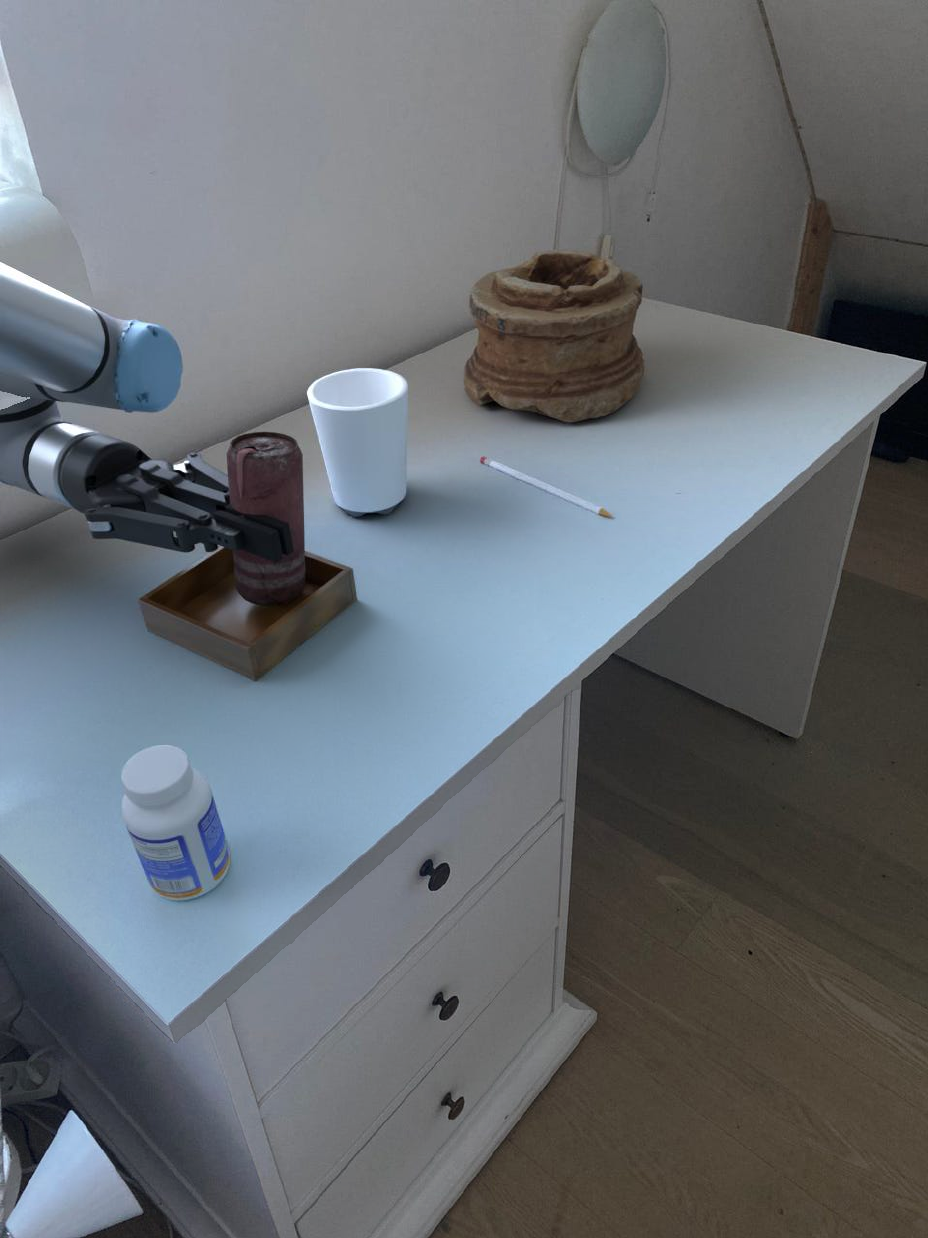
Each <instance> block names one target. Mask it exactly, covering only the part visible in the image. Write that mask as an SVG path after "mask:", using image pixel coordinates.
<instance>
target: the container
mask: <svg viewBox="0 0 928 1238" xmlns="http://www.w3.org/2000/svg"><path fill="white" fill-rule="evenodd" d="M643 287H644V284H643V281H642V280H641V278H638V277H637V275H636V274H635V273H632V272H631V271H629V270H626V269H622V268H621V267H620V265H619V264H618V263H617V262H615V260H613V259H611V258H609V257H607V258H604V259H602V258H601V257H600V256H599V255H598V254H596V253H593V252H589V251H584V250H578V249H549V250H542V251H537V252H535V253H534V254H533V256H532V257H531V259H530V260H527V261H526V260H525V261H524V262H522V263H520V264H518V265H517V266H514V267H508V268H503V269H499V270H496V271H494V270H493V271H491V272H489V273H487V274H485V275H482V276H481V277H480V278H479V279H477V281H476V282H475V283H474V285H472V287H471V290H470V293H469V301H468V306H469V313H470V315H471V317H472V319H474V321H475V325H476V328H477V331H478V335H477V342H476V343H477V344H476V346H474V347H475V348H474V350H473V351H472V354H471V355H470V357H469V358H468V359H467V360H466V361H465V365H464V369H463V370H464V371H463V386H464V387H463V388H464V391H465V393H466V394H467V396H468V397H469V398H470V399H471V400H472V401H473V402H474V403H475V404H477V405H479V406H482V405H486V404H487V403H491V402H496V403H497V404H499V405H500V406H501V407H503V408H505V409H508V410H511V411H512V410H513V411H526V412H527V411H528V412H532V413H537V414H540V415H541V416H546V417H549V418H551V419H552V418H553V419H556V420H559V421H562V422H565V423H576V422H580V421H585V420H589V419H597V418H599V417H605V416H607V415H609V414H612V413H615V412H616V411H617V410H618V409H621V407H622V406H623V405H625V404H626V403H628V401H630V399H632V398H633V397H634V396H635V394H636V392H637V391H638V389H639V387H640V385H641V381H642V379H643V377H644V374H645V369H646V367H645V360H644V358H643V351H642V348H640V347H639V344H638V341H637V338H636V337H635V335H634V334H633V332H634V325H635V322H636V318H637V312H638V310H639V309H640V305H641V304H642V303H643V302H642V301H643Z"/></svg>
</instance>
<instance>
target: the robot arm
mask: <svg viewBox="0 0 928 1238" xmlns="http://www.w3.org/2000/svg"><path fill="white" fill-rule="evenodd" d="M183 367H184V365H183V357H182V353H181V349H180V347H179V345H178V342H177V340H176V338H175V337H174V336H173V335H172V334H171V332H170V331H169V330H168V329H166V328H165V327H163V326H161V325H159V324H155V323H150V322H143V321H142V320H140V319H130V320H125V319H120V318H117V317H114V316H112V315H109V314H107V313H106V312H103V311H101V310H99V309H97V308H95V307H94V306H93V307H92V306H90V305H88V304H86V303H83V302H80V301H79V300H77V299H75V298H74V297H71V296H69V295H67V294H65V293H63V292H62V291H60V290H57V289H55V288H53V287H51V286H50V285H47V284H45V283H42V282H41V281H39V280H36V279H35V278H34V277H33V278H32V276H31V277H30V276H29V275H27V274H25V273H23V272H21V271H19V270H17V269H15V268H13V267H11V266H9V265H6V264H5V263H3V262H0V391H2V392H7V393H11V394H14V395H17V396H21V397H26V398H27V397H30V399H27V400H25V401H23V402H20V403H17V404H14V405H12V406H10V407H8V408H5V409H1V410H0V483H1V484H5V485H9V486H11V487H16V488H18V489H22V490H25V491H27V492H29V493H32V494H34V495H38V496H39V497H43V498H45V499H47V500H50V501H53V502H55V503H57V504H59V505H62V506H65V507H67V508H70V509H73V510H76V511H78V512H79V513H81V514H84V516H85V519H86V522H87V526H88V529H89V531H90V535H91V538H93V539H95V540H105V539H106V540H110V539H111V540H112V539H113V540H114V539H116V540H121V541H126V542H131V543H136V544H142V545H145V546H151V547H155V548H161V549H165V550H171V551H175V552H178V553H179V552H181V553H191V552H193V551H194V550H195V549H196V545H198V544H200V543H201V544H202V545H203V546H204V551H205V552H206V553H210V552H214V551H216V550H217V549H218V547H219V546H223V547H225V548H227V549H230V550H239V549H241V550H244V551H246V552H249V553H252V554H254V555H257V556H259V557H262V558H265V559H267V560H270V561H272V562H275V563H278V562H280V561H281V560H282V559H283V554H284V555H287V556H288V555H290V554H291V553H292V552H294V549H293V543H292V538H291V532H290V527H289V523H287V522H284V521H281V520H278V519H275V518H273V517H270V516H267V515H251V514H244V513H241V512H239V511H236V510H235V509H234V508H233V507H232V506H231V504H230V495H229V484H228V474H226V473H224V472H222V471H221V470H220V469H217V468H216V467H215V466H213V465H211V464H209V463H208V462H205V461H204V459H203V457H202V455H201V453H200V452H196V451H194V452H190V453H187V455H186V458H187V460H185V461H183V462H182V463H178V464H173V463H171V462H170V461H168V460H165V459H164V460H163V459H161V460H159V459H153V458H151V457H149V456H148V454H146V453H145V452H144V451H143V450H142V449H141V448H139V446H137V445H135V444H133V443H131V442H129V441H125V440H123V439H119V438H116V437H115V436H110V435H106V434H104V433H103V432H100V431H97V430H95V429H91V428H88V427H84V426H81V425H78V424H75V423H72V422H69V421H66V420H65V419H63V418H62V415H61V413H60V410H59V406H58V404H57V402H61V403H72V404H79V405H85V406H90V407H91V406H92V407H99V408H103V409H104V408H105V409H111V410H119V411H124V412H125V413H129V414H132V413H135V412H137V413H151V414H152V413H158V412H162V411H163V410H165V409H166V408H168V407H169V406H170V405H171V404H173V402H174V400H175V399H176V397H177V395H178V394H179V391H180V388H181V386H182V385H181V384H182V383H181V381H182V374H183V372H184V371H183V370H184V368H183ZM239 516H244V517H245V518H242V517H239ZM174 533H175V535H176V536H175V535H174Z"/></svg>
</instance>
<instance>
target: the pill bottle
mask: <svg viewBox="0 0 928 1238" xmlns="http://www.w3.org/2000/svg"><path fill="white" fill-rule="evenodd" d="M120 775H121V783H122V787H123V791H124V794H123V797H122V800H121V816H122V819H123V822H124V825H125V827H126V830H127V832H128V835H129V838H130V840H131V843H132V845H133V847H134V850H135V852H136V855H137V857H138V859H139V863H140V865H141V867H142V869H143V873H144V875H145V877H146V879H147V882H148V883H149V885H150V887H151V888H152V890H153V891H154V892H155V893H156V894H157V895H158V896H160V897H162V898H164V899H167V900H170V901H177V902H178V901H188V900H193V899H196V898H199V897H201V896H204V895H205V894H208V893H209V892H210V891H212V890H213V889H215V888H216V887H217V886H218V885H219V884H221V882H222V881H223V880H224V878H225V877H226V875H227V873H228V871H229V868H230V865H231V852H230V847H229V844H228V840H227V837H226V833H225V830H224V828H223V827H224V826H223V824H222V821H221V818H220V817H221V816H220V813H219V811H218V808H217V805H216V801H215V798H214V795H213V791H212V788H211V786H210V783H209V781H208V779H207V778H206V777H205V775H204V774H202V772H201V771H199V770H198V769H196V768H194V767H192V764H191V762H190V758H189V756H188V754H187V753H186V752H185V751H184V750H183V749H181V748H179V747H178V746H175V745H171V744H156V745H152V746H149V747H145V748H144V749H141V750H140V751H138V752H135V754H133V755H132V756H131V757H130V758H129V759H128V760H127V761H126V762H125V764H124V765H123V767H122V770H121V774H120Z"/></svg>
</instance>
